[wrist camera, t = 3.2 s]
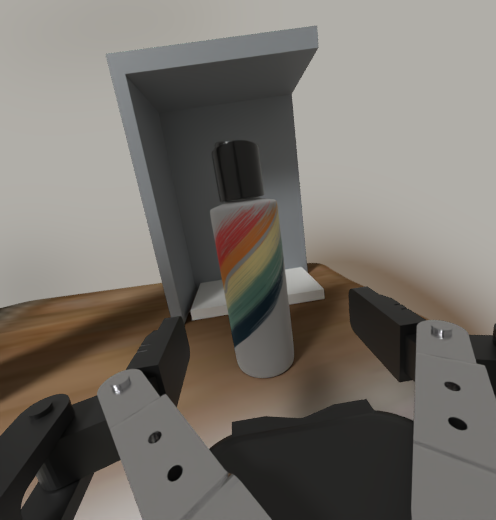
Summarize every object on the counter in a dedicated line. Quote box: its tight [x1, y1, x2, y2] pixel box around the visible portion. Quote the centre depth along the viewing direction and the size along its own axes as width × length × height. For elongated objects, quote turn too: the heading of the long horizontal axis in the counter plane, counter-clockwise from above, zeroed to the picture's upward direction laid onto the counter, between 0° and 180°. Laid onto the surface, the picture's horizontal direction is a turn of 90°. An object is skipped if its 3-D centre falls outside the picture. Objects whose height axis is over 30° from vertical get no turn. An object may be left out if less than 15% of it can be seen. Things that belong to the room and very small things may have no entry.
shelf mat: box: [190, 267, 325, 320], centre depth 41 cm, size 19×12×2 cm, turn 94°
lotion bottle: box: [210, 140, 294, 378], centre depth 22 cm, size 6×6×20 cm
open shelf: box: [106, 26, 318, 324], centre depth 37 cm, size 22×14×32 cm, turn 94°
